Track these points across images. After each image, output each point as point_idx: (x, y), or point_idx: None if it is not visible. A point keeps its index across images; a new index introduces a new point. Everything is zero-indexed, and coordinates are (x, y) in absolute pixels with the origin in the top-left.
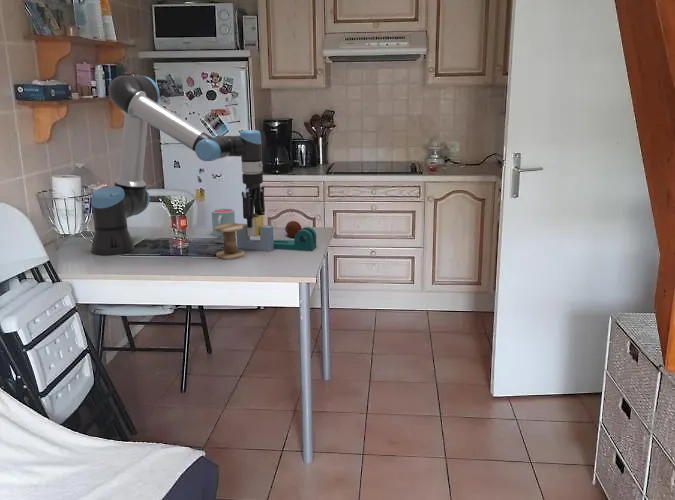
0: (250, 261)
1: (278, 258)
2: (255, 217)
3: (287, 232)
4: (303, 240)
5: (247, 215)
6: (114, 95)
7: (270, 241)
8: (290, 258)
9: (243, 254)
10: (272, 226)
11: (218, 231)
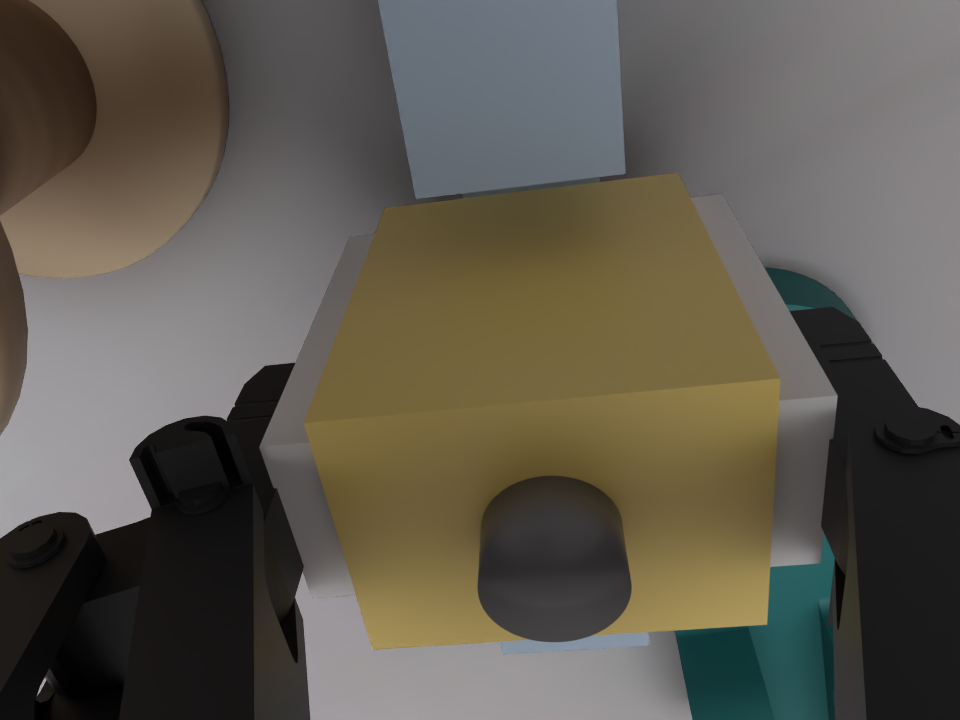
0: (34, 439)
1: (304, 592)
2: (442, 598)
3: None
4: (830, 672)
5: (51, 677)
6: None
7: None
8: (368, 664)
9: (126, 262)
10: (628, 643)
11: None
